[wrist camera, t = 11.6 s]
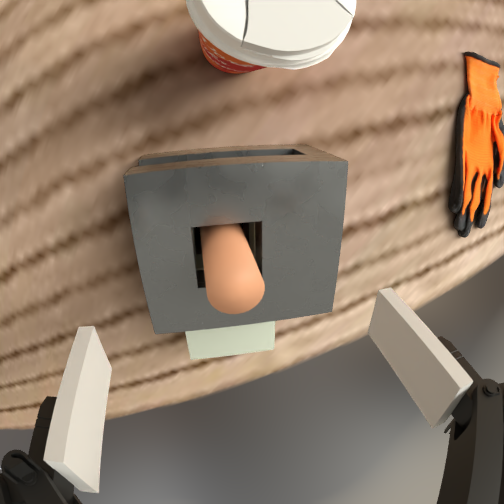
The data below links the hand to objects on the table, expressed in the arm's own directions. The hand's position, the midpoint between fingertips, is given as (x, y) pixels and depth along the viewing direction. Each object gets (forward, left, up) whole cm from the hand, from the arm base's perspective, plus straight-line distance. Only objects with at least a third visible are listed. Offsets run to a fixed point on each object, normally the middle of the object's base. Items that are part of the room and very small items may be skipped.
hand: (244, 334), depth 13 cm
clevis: (0, 0, -16) cm, 16 cm away
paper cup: (+2, +15, -16) cm, 22 cm away
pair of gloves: (+40, +7, -17) cm, 44 cm away
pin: (0, 0, -16) cm, 16 cm away
